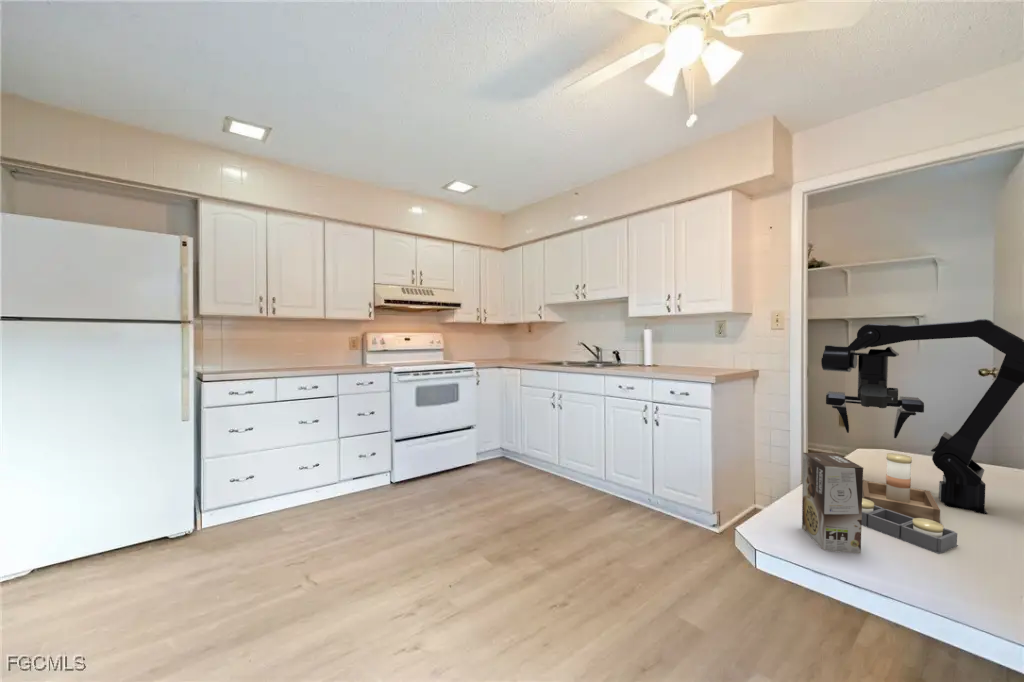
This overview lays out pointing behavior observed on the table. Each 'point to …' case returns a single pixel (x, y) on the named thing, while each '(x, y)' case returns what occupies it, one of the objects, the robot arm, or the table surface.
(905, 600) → the table surface
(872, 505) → the cream domed cylinder
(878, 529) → the grey compartment tray
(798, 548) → the table surface
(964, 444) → the robot arm
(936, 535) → the fuse
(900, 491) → the cream capped cylinder
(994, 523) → the table surface
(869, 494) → the walnut tray
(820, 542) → the coffee box
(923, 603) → the table surface
